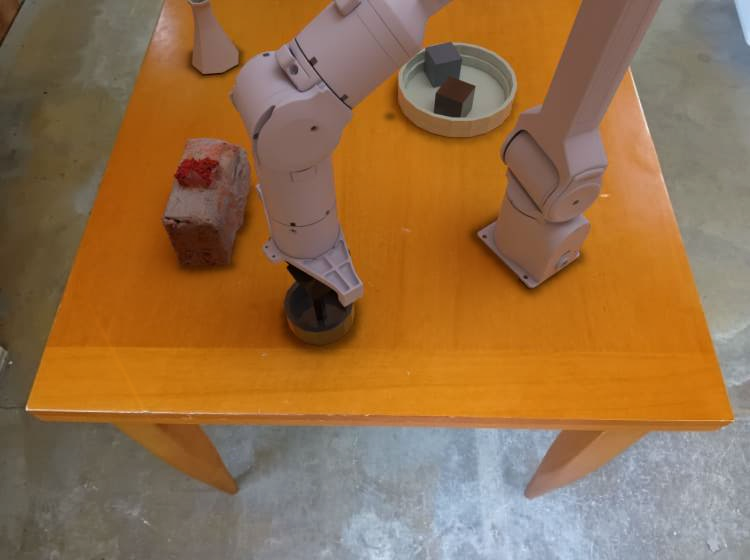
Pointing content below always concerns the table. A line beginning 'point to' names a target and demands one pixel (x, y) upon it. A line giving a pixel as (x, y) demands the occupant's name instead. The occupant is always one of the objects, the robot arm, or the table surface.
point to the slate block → (442, 63)
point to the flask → (210, 41)
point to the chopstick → (320, 307)
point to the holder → (313, 327)
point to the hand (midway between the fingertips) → (315, 286)
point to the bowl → (476, 69)
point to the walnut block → (454, 98)
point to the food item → (207, 201)
